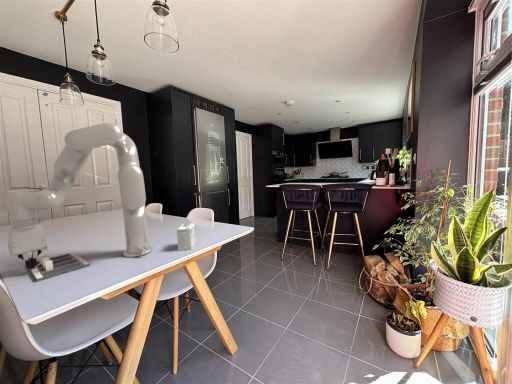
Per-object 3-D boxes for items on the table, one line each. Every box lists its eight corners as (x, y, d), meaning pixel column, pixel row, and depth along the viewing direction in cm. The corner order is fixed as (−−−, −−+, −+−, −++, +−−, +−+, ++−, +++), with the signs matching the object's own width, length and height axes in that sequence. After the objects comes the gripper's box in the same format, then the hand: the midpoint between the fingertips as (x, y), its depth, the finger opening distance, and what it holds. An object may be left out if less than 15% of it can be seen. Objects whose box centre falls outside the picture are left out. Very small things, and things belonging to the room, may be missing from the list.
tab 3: (53, 269, 86) (52, 261, 85) (46, 271, 84) (45, 263, 84) (52, 268, 87) (51, 259, 87) (45, 270, 86) (44, 261, 85)
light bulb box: (183, 243, 116) (181, 223, 115) (196, 242, 116) (194, 223, 115) (177, 250, 105) (176, 229, 104) (191, 249, 106) (190, 228, 105)
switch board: (89, 265, 91) (89, 261, 91) (36, 281, 79) (35, 277, 78) (73, 254, 106) (73, 250, 106) (26, 266, 93) (26, 262, 93)
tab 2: (50, 266, 89) (49, 258, 89) (43, 267, 88) (42, 259, 87) (49, 264, 91) (47, 256, 90) (42, 266, 89) (41, 258, 89)
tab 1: (47, 262, 93) (46, 255, 93) (40, 264, 91) (39, 256, 91) (46, 261, 94) (44, 253, 94) (39, 263, 93) (38, 255, 92)
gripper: (49, 218, 92) (54, 259, 94) (-5, 226, 81) (2, 273, 82) (53, 220, 88) (59, 263, 90) (-4, 229, 76) (4, 278, 78)
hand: (31, 268), depth 86 cm, fingers closed
